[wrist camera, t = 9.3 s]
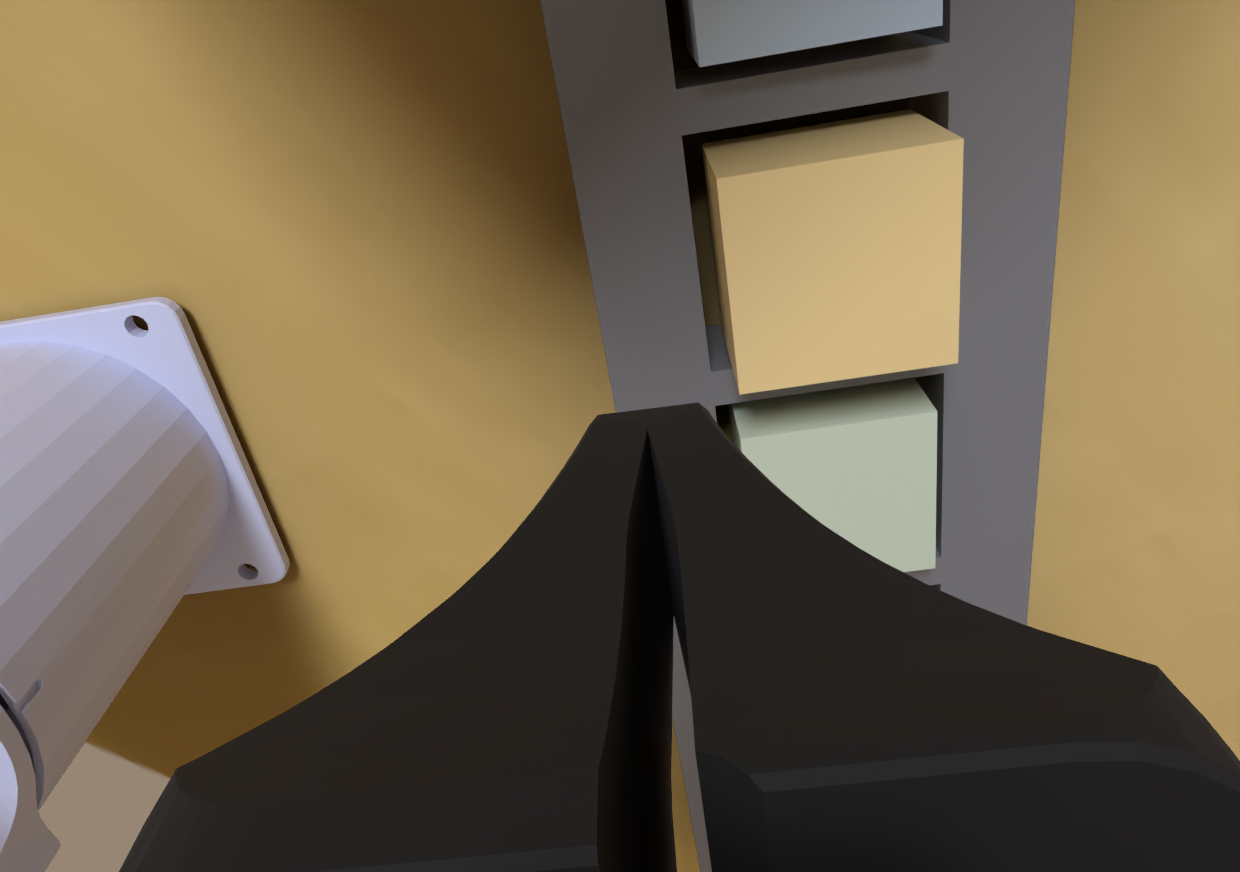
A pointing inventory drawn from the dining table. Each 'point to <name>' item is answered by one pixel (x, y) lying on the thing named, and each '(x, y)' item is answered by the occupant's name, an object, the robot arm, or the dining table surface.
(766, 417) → the key sage
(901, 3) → the key blue
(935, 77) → the keypad board
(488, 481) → the dining table surface
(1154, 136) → the dining table surface
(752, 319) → the key ochre
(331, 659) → the dining table surface
